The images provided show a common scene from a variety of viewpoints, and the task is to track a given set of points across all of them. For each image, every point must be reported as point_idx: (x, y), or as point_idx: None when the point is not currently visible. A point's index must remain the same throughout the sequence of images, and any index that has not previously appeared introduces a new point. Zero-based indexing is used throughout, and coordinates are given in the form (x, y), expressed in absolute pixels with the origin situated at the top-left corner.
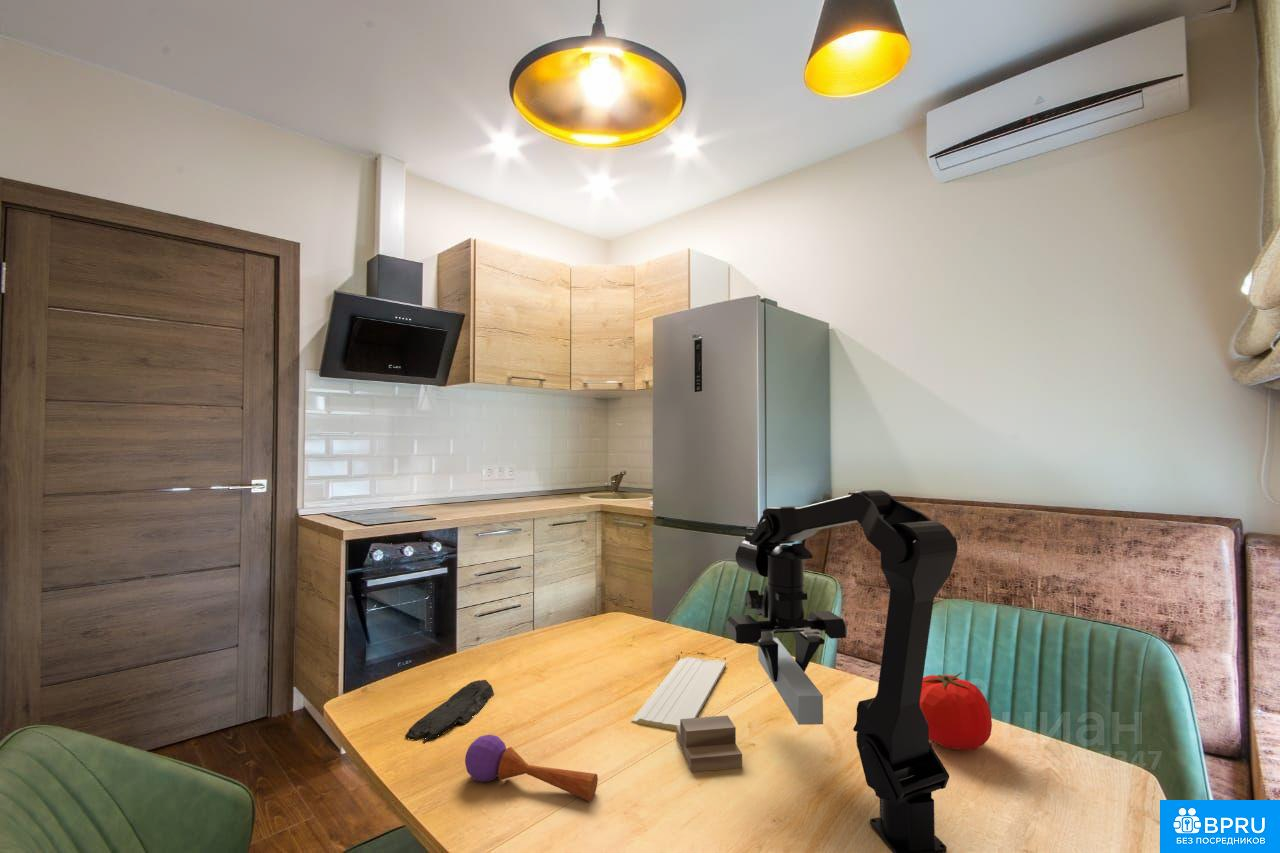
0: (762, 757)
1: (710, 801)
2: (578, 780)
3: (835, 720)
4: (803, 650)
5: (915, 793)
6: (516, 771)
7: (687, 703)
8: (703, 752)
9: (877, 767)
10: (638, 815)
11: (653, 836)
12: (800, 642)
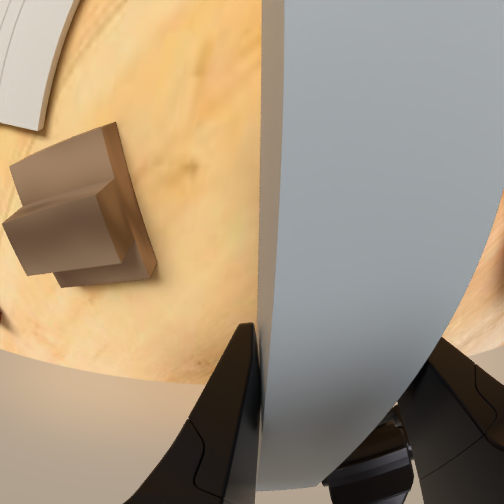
0: (206, 226)
1: (113, 332)
2: None
3: None
4: (431, 475)
5: None
6: None
7: (42, 5)
8: (75, 271)
9: None
10: (47, 339)
11: (73, 363)
12: (463, 489)
